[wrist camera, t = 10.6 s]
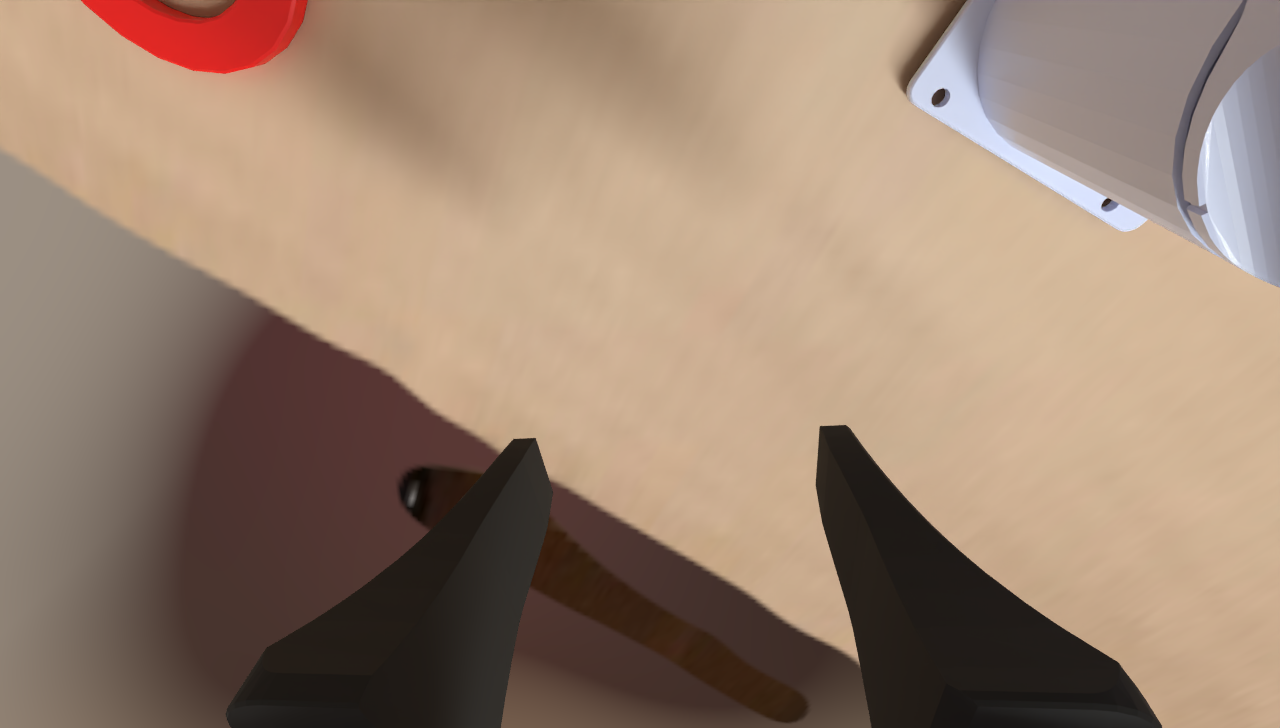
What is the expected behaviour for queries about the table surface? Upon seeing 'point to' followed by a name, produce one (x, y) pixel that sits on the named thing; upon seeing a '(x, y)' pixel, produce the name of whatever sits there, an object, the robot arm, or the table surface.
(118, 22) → the tow hook
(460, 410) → the table surface
